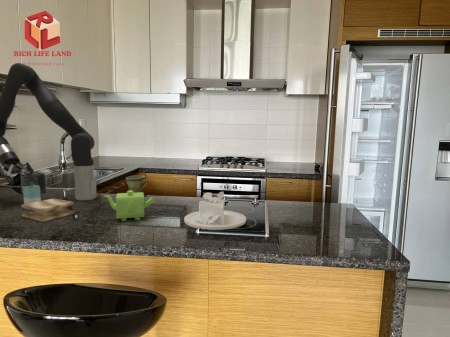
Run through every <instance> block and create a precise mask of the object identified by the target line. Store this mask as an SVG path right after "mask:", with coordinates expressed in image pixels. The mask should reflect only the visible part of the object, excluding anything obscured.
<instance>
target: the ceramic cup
mask: <svg viewBox="0 0 450 337" xmlns="http://www.w3.org/2000/svg"><path fill="white" fill-rule="evenodd" d="M125 181H126V184H127V186H128V191H129V190H132V191H133V193H139V192H143V193H144V188H145V186H147V184H148V183H149V182H148V180H147V179H146V176H145V175H130V176H127V177H125Z"/></svg>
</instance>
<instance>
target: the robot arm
mask: <svg viewBox="0 0 450 337" xmlns="http://www.w3.org/2000/svg"><path fill="white" fill-rule="evenodd" d="M6 76H7V77H6V80H5V82H4V86H3V88H2V91H1V94H0V179H1V180H2V179H4V180H6V181H7V183H8V184H9V185H11V186H13V185H14V184H15V181H14V179H13V177H12V176H11V174H12V175H15V174H20V175H23V174H24V175H26V176H27V178H28V180H29V181H30V182H32V181H33V179H34V178H33V177H32V174H34V172H35V170H34V169H33V167H32V166H31V165H30V163H29V162H25V163H21V161H20V158H19V157H18V155H17V153H16V151H15V150H14V148H13V147H12V146H11V144H10V143H9V141H8V140H7V138H5V137H4V136H5V134H6V131H7V124H8V120H9V118H10V116H11V115H12V113H13V111H14V109H15V105H16V99H17V94H18V93H19V90H20V88H21V87H22V86H24V87H25V88H27V89H28V91H29V92H31V94H32V95H33V96H34V97H35V99H36V101H37V103H38V105H39V107H40V109H41V110H42V111H43V113H44V114H45V115H46V116H47V118H49V119H50V121H51V122H53V123H54V124H55V125H57V126H58V127H60V128H61V129H62V130H64V131H65V132H66V133H67V134H68V135H69V137H71V141H70V152H71V160H72V162H73V174H74V175H73V177H74V192H75V194H74V195H75V200H76V201H92V200H95V199H96V198H97V180H96V178H95V165H94V164H95V163H94V159H93V157H92V149H94V146H95V139H94V137H93V136H92V135H91V134H90V133H89V132H88V131H87V130H86V129H85V128H84V127H83V126H82V125H81V124H79V122H78V121H77V120H76V118H75V117H74V116H73V115H72V114H71V112H70V111H69V110H68V109H67V108H66V106H65V105H64V104H63V103H62V101H61V100H59V98H58V97H57V96H56V95H55V94H54V93H53V92H52V91H51V90H50V89H49V88H48V87H47V86H46V84H45V83H44V82H43V80H42V79H41V78H40V75H38V73H37V72H36V71H35V69H34V68H32V67H31V66H29V65H27V64H24V63H20V62H15V63H14V64H12V65H11V66H10V68H9V69H8V72H7V75H6ZM5 172H6V173H5Z"/></svg>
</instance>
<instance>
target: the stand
mask: <svg viewBox="0 0 450 337" xmlns="http://www.w3.org/2000/svg"><path fill="white" fill-rule="evenodd" d="M72 205H75V202H74V201H71V200H70V201H69V200H66V199H65V200H63V199H59V198H49V199H44V200H41V201H38V202H33V203H28V204H24V203H23V204H21V206H20V207H21V208H23V209H25V208H27V209H26V210H29V209H31V210H32V211H31V210H30V212H28V213H27V212H26V213H22V214H21V217H22V218H26V219H30V220H33V221H38V222H42V223H43V222H47V221H51V220H55V219H58V218H63V217H66V216H71V215H74V214H75V210H69V209H65V207H68V206H72Z"/></svg>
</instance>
